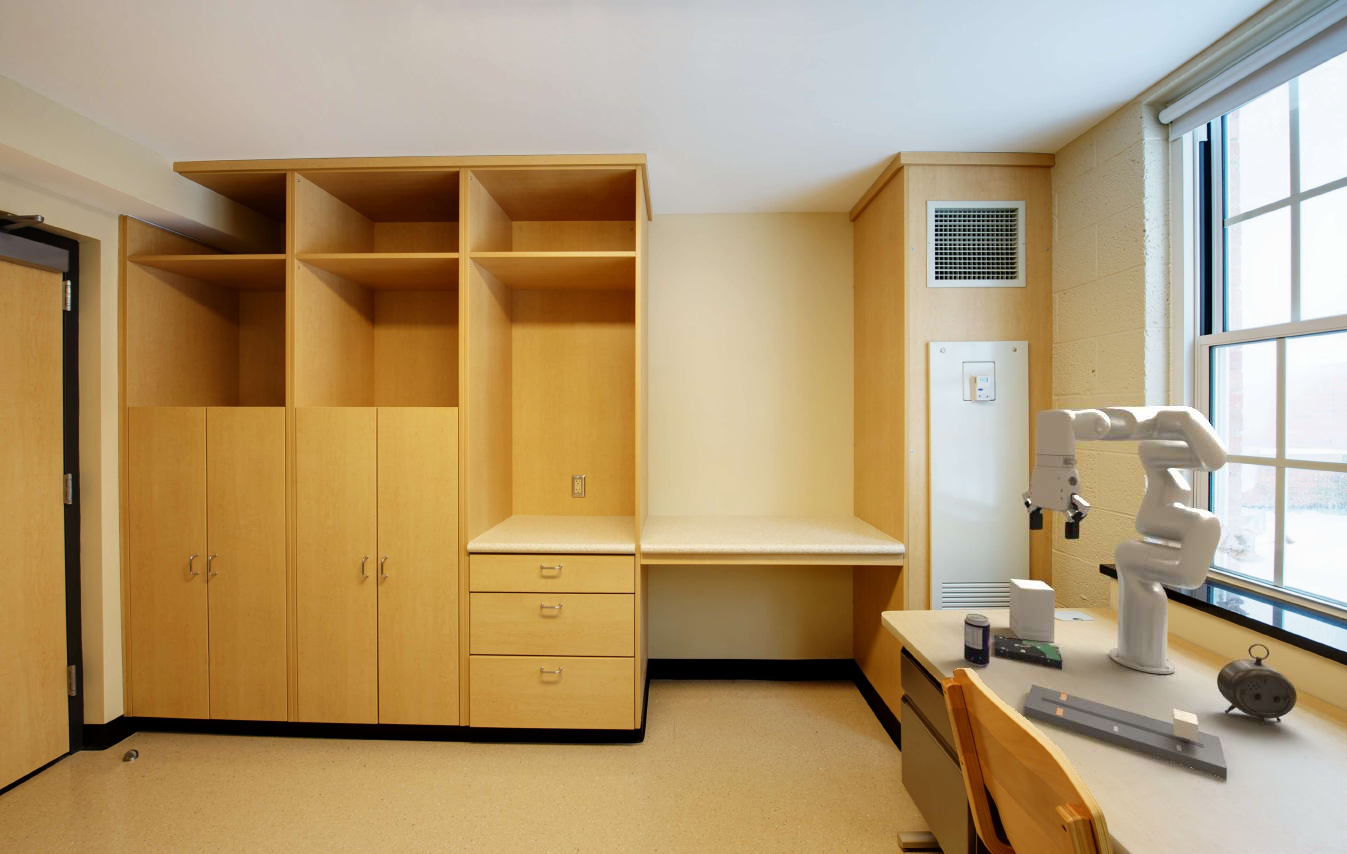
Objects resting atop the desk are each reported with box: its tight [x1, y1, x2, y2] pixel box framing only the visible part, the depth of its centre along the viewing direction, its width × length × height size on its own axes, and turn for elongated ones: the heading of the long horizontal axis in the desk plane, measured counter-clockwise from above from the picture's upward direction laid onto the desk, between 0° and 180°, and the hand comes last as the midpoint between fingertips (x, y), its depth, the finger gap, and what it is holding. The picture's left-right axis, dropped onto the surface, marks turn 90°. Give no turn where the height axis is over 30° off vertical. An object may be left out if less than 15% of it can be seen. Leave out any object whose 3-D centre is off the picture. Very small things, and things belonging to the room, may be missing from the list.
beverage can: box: [963, 613, 991, 668], centre depth 136 cm, size 6×6×12 cm
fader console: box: [1023, 683, 1228, 780], centre depth 107 cm, size 12×30×2 cm, turn 48°
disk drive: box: [993, 634, 1063, 670], centre depth 140 cm, size 10×3×15 cm
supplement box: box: [1008, 578, 1056, 643], centre depth 153 cm, size 9×9×15 cm
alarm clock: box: [1216, 643, 1297, 726], centre depth 110 cm, size 11×5×16 cm, turn 71°
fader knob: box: [1172, 708, 1199, 742], centre depth 100 cm, size 4×3×4 cm
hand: (1053, 534), depth 124 cm, fingers open, 9 cm apart
